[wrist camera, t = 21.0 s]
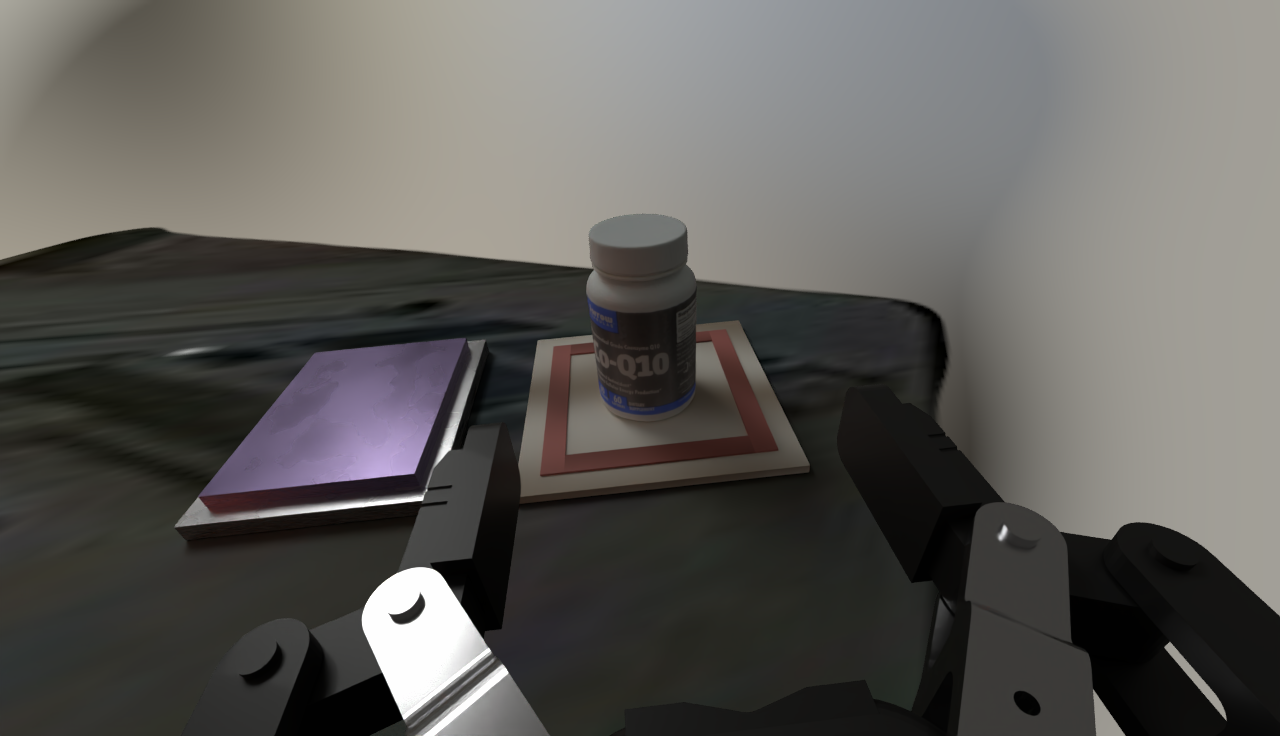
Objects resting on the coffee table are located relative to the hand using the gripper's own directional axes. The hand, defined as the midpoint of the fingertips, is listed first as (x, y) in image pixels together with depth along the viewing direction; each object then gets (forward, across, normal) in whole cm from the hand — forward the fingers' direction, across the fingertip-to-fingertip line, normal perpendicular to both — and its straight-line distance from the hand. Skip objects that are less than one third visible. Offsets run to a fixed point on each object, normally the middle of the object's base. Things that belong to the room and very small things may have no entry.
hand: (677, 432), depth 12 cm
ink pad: (+11, +14, +8) cm, 19 cm away
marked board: (+11, 0, +8) cm, 13 cm away
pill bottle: (+11, 0, +7) cm, 13 cm away
